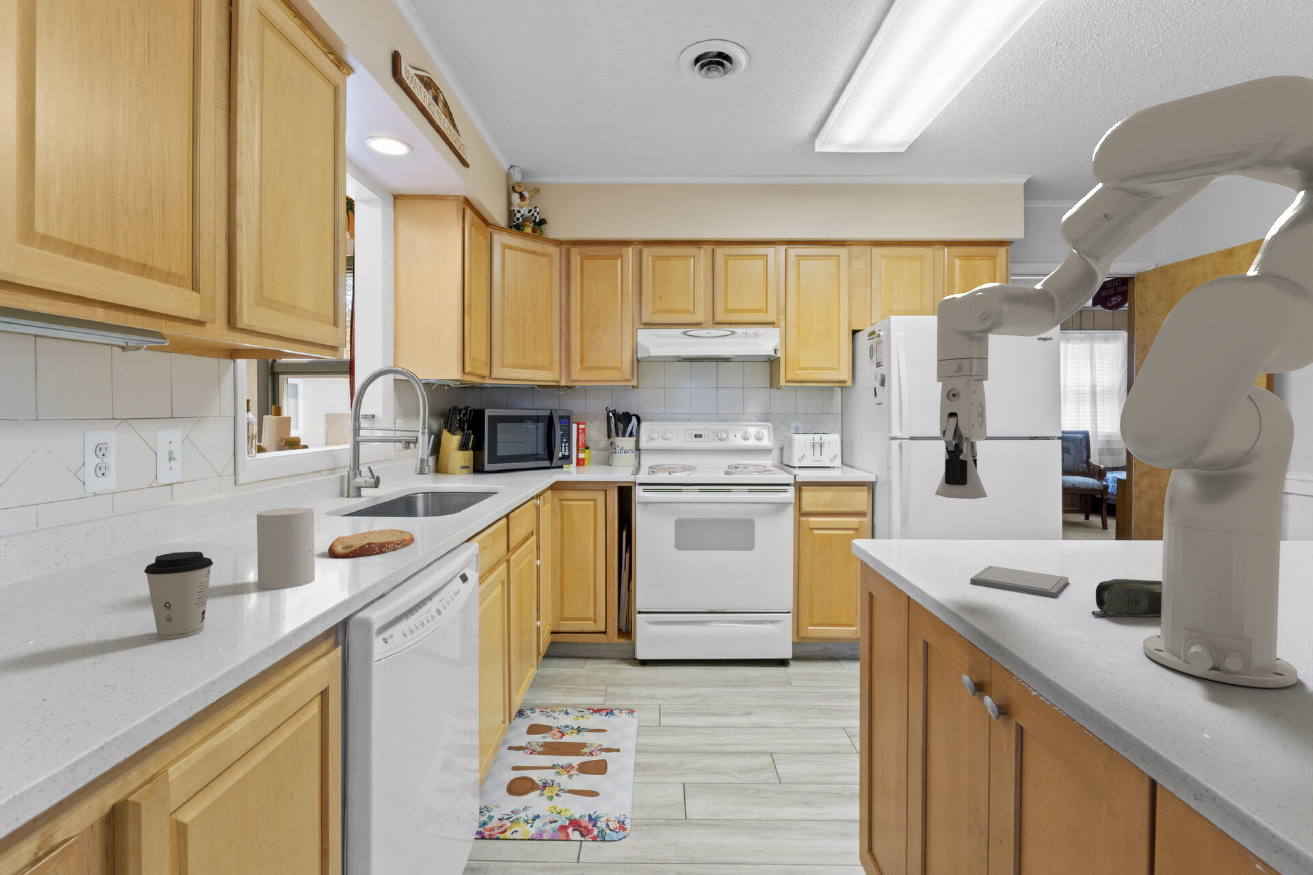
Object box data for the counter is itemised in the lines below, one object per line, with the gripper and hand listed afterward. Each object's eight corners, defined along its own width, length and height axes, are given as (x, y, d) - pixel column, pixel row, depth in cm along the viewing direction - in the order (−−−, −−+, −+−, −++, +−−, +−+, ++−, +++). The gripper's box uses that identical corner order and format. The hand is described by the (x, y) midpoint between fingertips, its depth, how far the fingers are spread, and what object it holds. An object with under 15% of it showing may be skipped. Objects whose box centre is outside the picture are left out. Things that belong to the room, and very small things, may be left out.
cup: (324, 580, 103) (323, 510, 102) (273, 591, 96) (272, 516, 96) (299, 573, 107) (297, 506, 107) (248, 584, 100) (247, 512, 100)
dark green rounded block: (1184, 578, 87) (1083, 577, 86) (1204, 584, 84) (1099, 582, 83) (1182, 613, 87) (1081, 611, 86) (1202, 620, 84) (1098, 618, 83)
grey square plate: (1055, 597, 93) (1055, 591, 93) (970, 583, 101) (970, 577, 101) (1068, 582, 102) (1068, 576, 102) (989, 569, 110) (989, 565, 110)
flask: (926, 495, 101) (926, 436, 101) (960, 494, 104) (960, 435, 103) (960, 500, 94) (961, 437, 94) (996, 498, 97) (996, 436, 97)
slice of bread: (408, 537, 142) (408, 521, 142) (427, 551, 127) (427, 533, 127) (321, 546, 132) (321, 529, 132) (330, 562, 117) (330, 543, 117)
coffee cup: (227, 626, 80) (226, 551, 80) (173, 645, 73) (171, 563, 73) (188, 621, 82) (186, 548, 82) (131, 639, 75) (129, 559, 75)
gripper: (973, 367, 90) (972, 489, 90) (999, 374, 103) (998, 480, 103) (920, 370, 95) (920, 485, 95) (952, 376, 107) (951, 478, 108)
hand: (961, 482), depth 99 cm, fingers closed on flask, 5 cm apart
